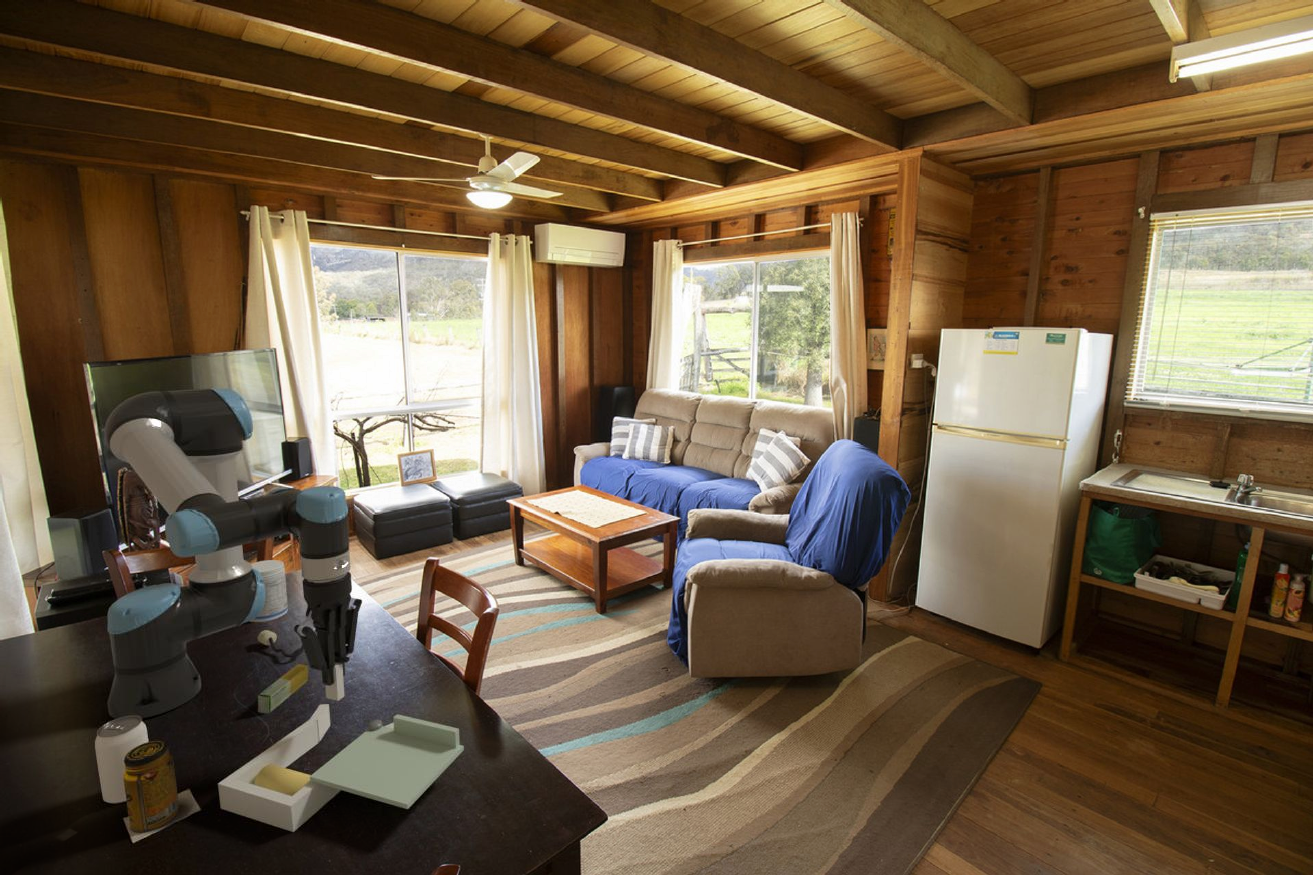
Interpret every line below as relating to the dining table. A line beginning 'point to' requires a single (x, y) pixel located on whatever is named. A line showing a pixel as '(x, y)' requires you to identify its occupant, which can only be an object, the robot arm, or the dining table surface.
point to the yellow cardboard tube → (281, 779)
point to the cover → (393, 760)
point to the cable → (269, 639)
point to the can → (117, 753)
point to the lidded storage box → (273, 805)
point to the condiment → (153, 791)
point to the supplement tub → (272, 589)
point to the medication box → (282, 688)
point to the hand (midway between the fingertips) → (335, 696)
